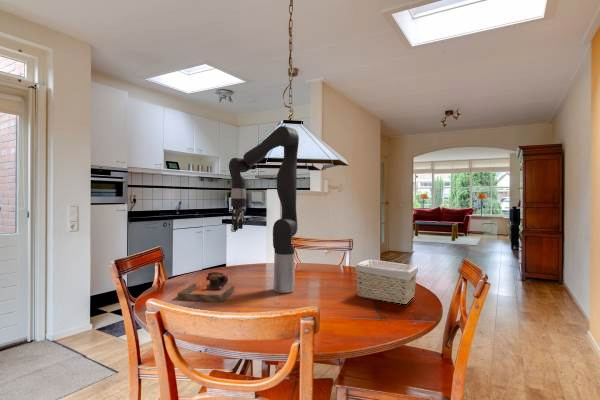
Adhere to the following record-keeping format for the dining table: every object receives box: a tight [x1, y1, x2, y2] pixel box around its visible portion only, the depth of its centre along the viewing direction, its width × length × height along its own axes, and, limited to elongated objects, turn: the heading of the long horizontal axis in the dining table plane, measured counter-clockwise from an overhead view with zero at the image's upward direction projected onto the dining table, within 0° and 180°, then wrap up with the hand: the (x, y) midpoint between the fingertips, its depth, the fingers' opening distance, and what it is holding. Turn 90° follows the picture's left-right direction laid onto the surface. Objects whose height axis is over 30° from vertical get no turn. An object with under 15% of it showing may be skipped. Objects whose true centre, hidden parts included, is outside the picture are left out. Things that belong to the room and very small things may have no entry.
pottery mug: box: [205, 271, 229, 290], centre depth 160 cm, size 12×10×8 cm
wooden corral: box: [177, 283, 235, 303], centre depth 147 cm, size 19×16×2 cm
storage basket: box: [355, 259, 419, 305], centre depth 151 cm, size 24×16×15 cm
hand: (238, 229), depth 174 cm, fingers open, 8 cm apart
